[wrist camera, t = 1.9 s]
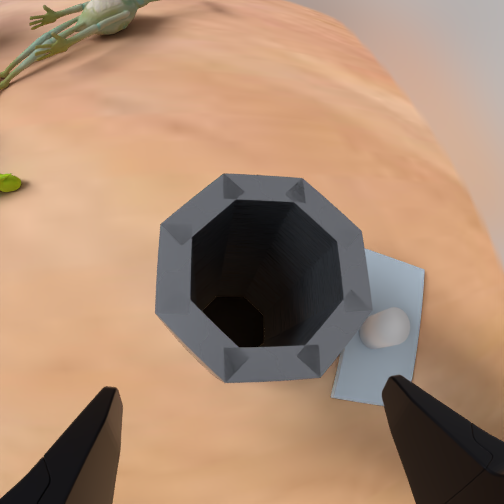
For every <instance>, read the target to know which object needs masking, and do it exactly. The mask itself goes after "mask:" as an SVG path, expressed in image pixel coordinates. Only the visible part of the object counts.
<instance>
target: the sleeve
mask: <svg viewBox="0 0 504 504" xmlns="http://www.w3.org/2000/svg"><path fill="white" fill-rule="evenodd" d="M160 225H161V226H160V237H159V250H158V265H157V282H156V304H155V314H156V315H157V316H158V317H159V319H160V320H161V321H162V322H163V323H164V325H165V326H166V327H167V328H168V329H169V331H170V332H171V333H172V334H173V335H174V336H175V338H176V339H177V340H178V341H179V342H180V343H181V344H182V346H183V347H184V348H185V349H186V350H187V351H188V352H189V353H190V354H191V355H192V356H193V357H194V358H195V359H196V360H197V361H198V362H199V363H200V364H201V365H203V366H204V367H205V368H206V369H207V370H208V371H209V372H210V373H211V374H212V375H213V376H215V377H216V378H218V379H219V380H221V381H223V382H224V383H240V382H267V381H284V380H298V379H310V378H321V376H322V375H323V374H324V373H325V372H326V370H327V369H328V368H329V367H330V365H331V364H332V363H333V362H334V360H335V359H336V358H337V357H338V356H339V354H340V353H341V352H342V350H343V349H344V348H345V347H346V345H347V344H348V343H349V341H350V340H351V339H352V338H353V336H354V335H355V334H356V332H357V331H358V330H359V328H360V327H361V326H362V324H363V323H364V322H365V320H366V319H367V317H368V316H369V315H370V313H371V312H372V311H373V308H372V300H371V291H370V283H369V276H368V269H367V262H366V255H365V249H364V243H363V237H362V231H361V230H360V229H359V228H358V227H357V226H356V225H355V224H353V223H352V222H351V221H350V220H349V219H348V218H347V217H346V216H345V215H344V214H343V213H341V212H340V211H339V210H338V209H337V208H336V207H335V206H334V205H333V204H331V203H330V202H329V201H328V200H327V199H326V198H325V197H324V196H322V195H321V194H320V193H319V192H318V191H317V190H316V189H314V188H313V187H312V186H311V185H310V184H309V183H307V182H306V181H305V180H304V179H303V178H292V177H279V176H263V175H245V174H222V175H221V176H220V177H219V178H217V179H216V180H215V181H213V182H212V183H211V184H210V185H208V186H207V187H206V188H204V189H203V190H202V191H201V192H199V193H198V194H197V195H196V196H194V197H193V198H192V199H191V200H189V201H188V202H187V203H186V204H184V205H183V206H182V207H181V208H180V209H178V210H177V211H176V212H175V213H173V214H172V215H171V216H170V217H169V218H167V219H166V220H165V221H164V222H163V223H161V224H160ZM217 296H223V297H245V298H246V299H247V300H248V301H249V302H250V303H251V304H252V305H253V306H254V307H255V308H256V309H257V310H258V311H259V312H260V313H261V314H263V328H264V342H263V343H262V344H261V345H260V346H259V347H241V348H239V347H238V346H237V345H236V344H235V343H234V342H233V341H232V340H231V339H229V338H228V337H227V336H226V335H225V334H224V333H223V332H222V331H221V330H220V329H219V328H218V327H217V326H216V325H215V324H214V323H213V322H212V321H211V320H210V319H209V318H208V317H207V316H206V315H205V314H204V313H203V312H202V311H203V310H204V309H205V308H206V307H207V306H208V305H209V304H210V303H211V302H212V301H213V300H214V299H215V298H216V297H217Z"/></svg>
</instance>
